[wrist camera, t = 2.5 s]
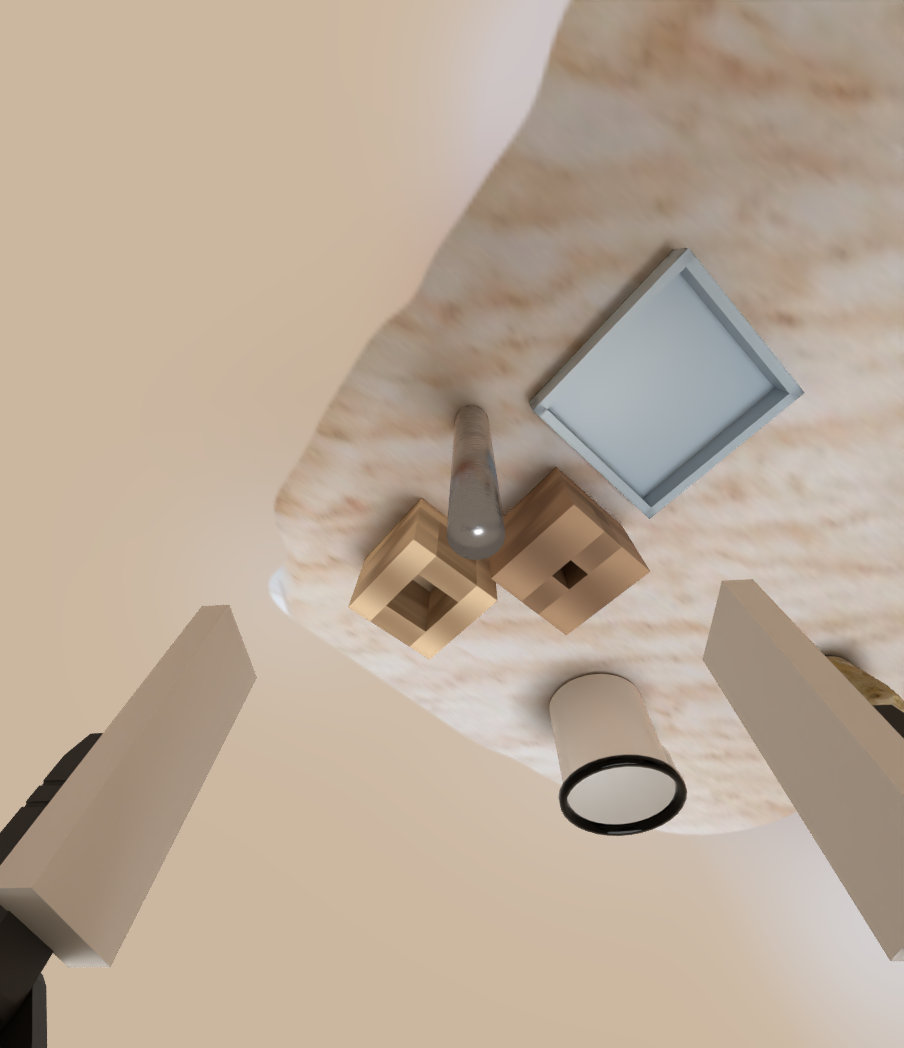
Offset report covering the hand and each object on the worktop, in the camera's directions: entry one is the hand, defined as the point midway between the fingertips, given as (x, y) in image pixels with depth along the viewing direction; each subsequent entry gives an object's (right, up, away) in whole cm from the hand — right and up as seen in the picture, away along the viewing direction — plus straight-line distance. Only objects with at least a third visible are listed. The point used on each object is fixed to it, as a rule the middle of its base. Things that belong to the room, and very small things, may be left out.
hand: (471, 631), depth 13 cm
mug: (+14, -14, +31) cm, 37 cm away
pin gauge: (+1, +10, +18) cm, 20 cm away
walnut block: (+7, +3, +22) cm, 23 cm away
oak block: (-2, +1, +23) cm, 23 cm away
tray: (+12, +11, +17) cm, 24 cm away
